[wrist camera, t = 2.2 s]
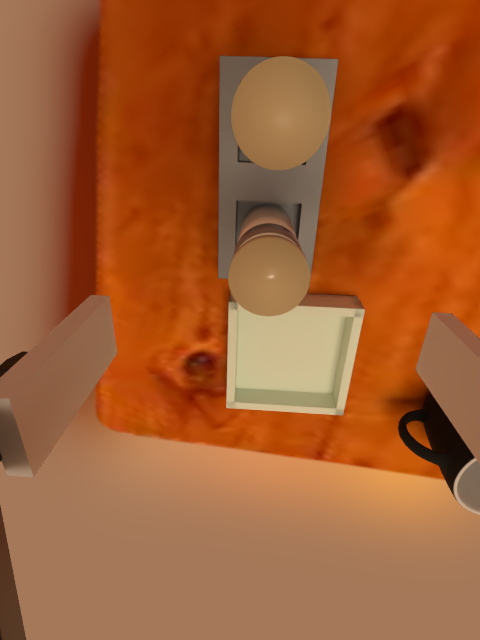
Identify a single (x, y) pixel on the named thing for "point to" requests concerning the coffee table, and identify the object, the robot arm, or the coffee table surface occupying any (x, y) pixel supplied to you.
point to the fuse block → (272, 143)
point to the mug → (445, 452)
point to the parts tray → (293, 355)
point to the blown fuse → (268, 263)
